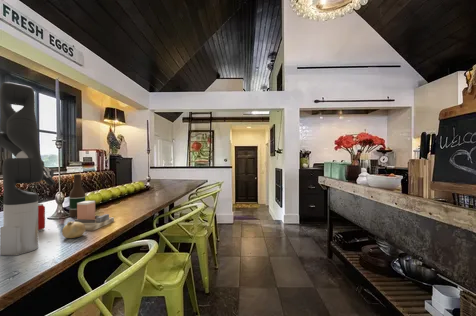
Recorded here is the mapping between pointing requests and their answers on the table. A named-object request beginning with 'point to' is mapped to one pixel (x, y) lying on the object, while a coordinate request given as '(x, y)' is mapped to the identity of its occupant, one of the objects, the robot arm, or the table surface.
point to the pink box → (86, 210)
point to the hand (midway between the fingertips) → (53, 184)
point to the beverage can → (41, 217)
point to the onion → (73, 229)
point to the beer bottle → (76, 196)
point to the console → (96, 222)
